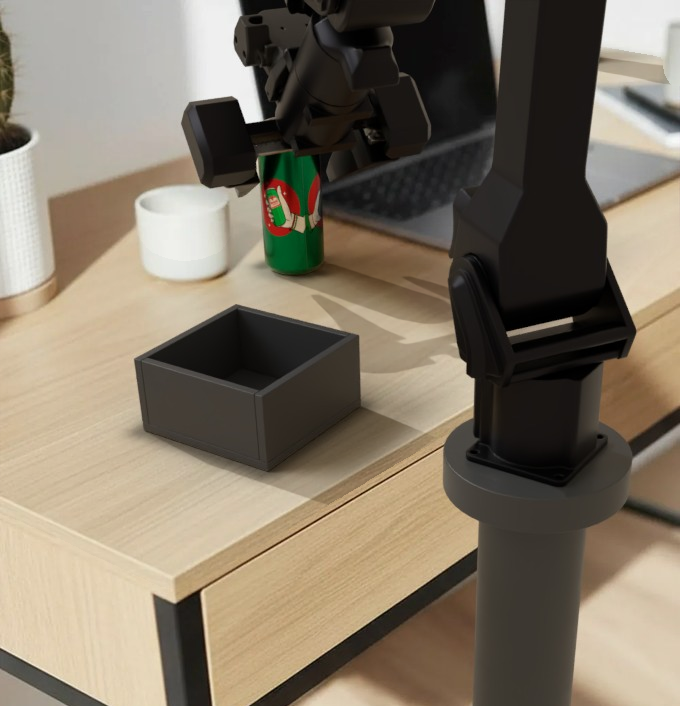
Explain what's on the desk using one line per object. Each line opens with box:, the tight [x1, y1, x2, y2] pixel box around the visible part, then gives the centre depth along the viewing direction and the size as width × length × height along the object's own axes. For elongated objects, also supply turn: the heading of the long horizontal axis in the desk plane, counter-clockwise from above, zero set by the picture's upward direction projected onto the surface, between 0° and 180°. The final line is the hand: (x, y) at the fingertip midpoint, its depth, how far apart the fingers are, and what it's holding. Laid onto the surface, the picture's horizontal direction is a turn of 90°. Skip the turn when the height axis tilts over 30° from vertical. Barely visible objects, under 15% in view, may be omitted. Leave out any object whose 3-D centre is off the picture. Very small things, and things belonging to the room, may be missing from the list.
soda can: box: [257, 116, 325, 276], centre depth 99 cm, size 5×5×12 cm
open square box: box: [133, 303, 362, 472], centre depth 77 cm, size 10×10×5 cm
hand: (284, 184), depth 99 cm, fingers open, 8 cm apart
